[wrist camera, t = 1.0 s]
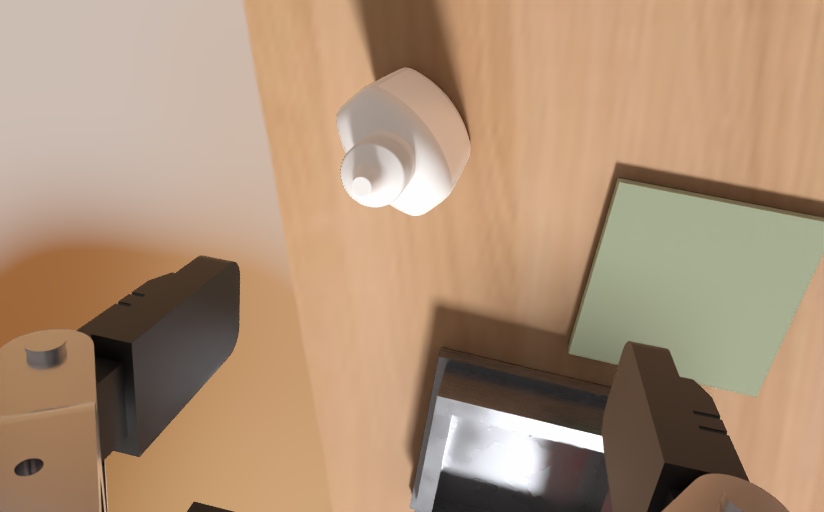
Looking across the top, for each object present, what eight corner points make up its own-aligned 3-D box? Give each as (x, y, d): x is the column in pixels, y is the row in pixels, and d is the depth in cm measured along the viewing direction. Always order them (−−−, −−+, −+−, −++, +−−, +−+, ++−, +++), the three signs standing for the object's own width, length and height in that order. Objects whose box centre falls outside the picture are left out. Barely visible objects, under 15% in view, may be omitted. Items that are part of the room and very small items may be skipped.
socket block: (441, 347, 36) (429, 386, 33) (647, 396, 35) (658, 442, 31) (412, 496, 41) (399, 544, 38) (591, 544, 40) (596, 599, 36)
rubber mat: (617, 177, 31) (619, 182, 30) (829, 218, 29) (836, 224, 29) (568, 346, 35) (568, 353, 34) (751, 388, 33) (756, 397, 33)
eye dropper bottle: (459, 57, 30) (409, 92, 19) (475, 168, 32) (437, 258, 21) (374, 71, 31) (281, 111, 20) (394, 178, 33) (319, 268, 22)
